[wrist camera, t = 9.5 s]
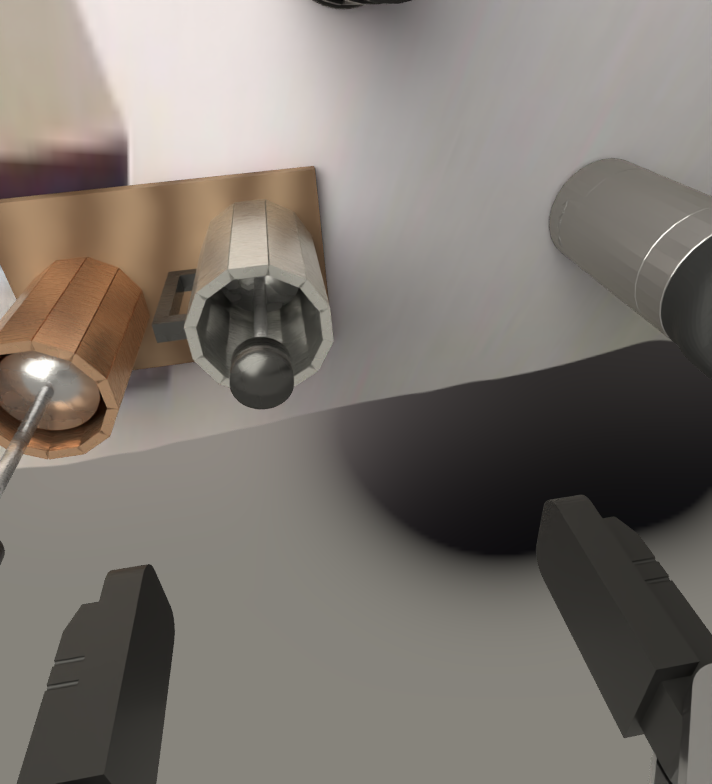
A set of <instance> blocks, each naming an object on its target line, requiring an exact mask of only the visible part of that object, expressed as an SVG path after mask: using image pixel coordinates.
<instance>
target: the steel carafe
mask: <svg viewBox="0 0 712 784" xmlns="http://www.w3.org/2000/svg"><path fill="white" fill-rule="evenodd" d="M260 276H270V277H273V278H276V279H278V280H281V281H283V282H286V283H289V284H291V285H294V286H296V287H299V289H298V291H297V293H296V295H295V296H294V297H293V299H292V300H291V301H290V302H289V303H287V304H286V305H285V306H283V307H281V308H279V309H277V310H274V311H271V312H267V321H268V337H269V338H273V339H275V340H277V341H279V342H281V343H282V344H283V345H284V346H285V347H286V348H287V349H288V351H289V352H290V355H291V358H292V366H293V376H294V387H295V386H297V385H298V384H300V383H301V382H303V381H304V380H306V379H307V378H309V377H310V376H312V375H313V374H315V373H316V372H318V370H319V369H320V367H321V365H322V363H323V361H324V359H325V357H326V355H327V354H328V352H329V350H330V348H331V346H332V344H333V341H334V340H333V331H332V321H331V311H330V306H329V302H328V298H327V294H326V290H325V286H324V282H323V278H322V274H321V270H320V266H319V262H318V258H317V254H316V250H315V247H314V243H313V239H312V235H311V234H310V232H309V231H308V230H307V228H306V227H305V226H304V224H303V223H302V222H301V220H300V219H299V218H298V216H297V215H296V214H295V212H293V211H292V210H289V209H287V208H285V207H282V206H280V205H278V204H275V203H273V202H271V201H269V200H265V199H261V200H252V201H243V202H235V204H234V203H233V204H232V205H230V206H229V207H228V208H226V209H225V210H224V211H223V212H221V213H220V214H219V215H217V216H216V217H215V218H214V219H212V220H211V221H210V224H209V227H208V230H207V233H206V235H205V238H204V241H203V244H202V247H201V251H200V256H199V260H198V265H197V269H188V270H180V271H172V272H168V275H167V278H166V281H165V284H164V287H163V290H162V294H161V297H160V300H159V303H158V306H157V309H156V312H155V315H154V318H153V321H152V328H153V331H154V334H155V338H156V341H157V343H161V342H169V341H177V340H184V339H187V340H188V343H189V347H190V351H191V354H192V358H193V360H194V362H196V363H197V364H198V365H199V366H200V367H201V368H202V369H203V370H204V371H205V372H206V373H207V374H208V375H209V376H210V377H212V378H213V379H214V380H215V381H216V382H217V383H218V384H220V385H222V386H225V387H229V388H230V366H231V357H232V354H233V352H234V350H235V349H236V347H237V346H238V345H239V344H241V343H242V342H244V341H245V340H247V339H250V338H254V312H250V311H247V310H244V309H242V308H240V307H238V306H236V305H235V304H233V303H232V302H231V301H230V300H229V299H228V298H227V297H226V296H225V295H224V293H223V291H222V290H221V288H222V287H224V286H225V285H226V284H228V283H229V282H231V281H232V280H235V279H243V278H252V277H260ZM186 291H192V292H191V297H190V301H189V306H188V311H187V314H180V315H179V311H180V307H181V303H182V299H183V295H184V292H186Z"/></svg>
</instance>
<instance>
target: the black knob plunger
mask: <svg viewBox="0 0 712 784" xmlns="http://www.w3.org/2000/svg"><path fill="white" fill-rule="evenodd" d="M100 399H101V392H100V390H99V387H98V385H97V383H96V382H95V381H94V380H93V379H91V378H90V377H89V376H88V375H86V374H85V373H84V372H83V371H81V370H80V369H79V368H78V367H76V366H75V365H74V364H73V363H71V362H70V361H68V360H64V359H61V358H57V357H54V356H50V355H47V354H43V353H40V352H36V351H25V352H18V353H10V354H7V355H6V356H5V357H4V358H3V359H2V360H1V362H0V405H1V406H2V407H3V408H4V409H5V410H6V411H7V412H8V413H9V414H10V415H12V416H13V417H14V418H16V419H18V420H19V421H21V424H20V426H19V428H18V429H17V431H16V433H15V435H14V437H13V438H12V440H11V442H10V444H9V445H8V447H7V449H6V451H5V453H4V454H3V456H2V458H1V460H0V498H1V496H2V494H3V492H4V490H5V488H6V486H7V484H8V482H9V480H10V478H11V477H12V475H13V473H14V471H15V469H16V467H17V465H18V463H19V461H20V459H21V457H22V455H23V453H24V451H25V449H26V448H27V446H28V444H29V442H30V440H31V438H32V436H33V434H34V432H35V430H36V428H41V429H47V430H65V429H70V428H74V427H77V426H79V425H81V424H83V423H85V422H86V421H88V420H89V419H90V418H91V417H92V416H93V415H94V413H95V412H96V410H97V407H98V405H99V402H100ZM4 554H5V550H4V547H3V544H2V542H1V541H0V564H1V562H2V560H3V558H4Z"/></svg>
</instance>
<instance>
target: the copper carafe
mask: <svg viewBox="0 0 712 784" xmlns="http://www.w3.org/2000/svg"><path fill="white" fill-rule="evenodd" d="M149 318H150V314H149V311H148V308H147V304H146V301H145V298H144V295H143V292H142V290H141V288H140V287H139V286H137V285H136V284H135V283H134V282H133V281H132V280H131V279H130V278H129V277H128V276H127V275H126V274H125V273H124V272H123V271H122V270H121V269H120V268H119V269H118V267H115V266H113V265H110V264H107V263H104V262H101V261H98V260H96V259H93V258H90V257H88V258H87V257H80V258H71V259H62V260H56V261H54V262H53V263H52V264H51V265H50V266H48V267H47V268H46V269H45V270H43V271H42V272H41V273H40V274H39V275H37V276H36V277H35V278H34V279H33V280H32V282H31V283H30V284H29V285H28V287H27V288H26V289H25V290H24V292H23V293H22V294H21V295H20V297H19V298H18V299H17V300H16V301H15V303H14V304H13V305H12V306H11V308H10V309H9V310H8V311H7V313H6V314H5V315H4V316H3V317H2V319H1V320H0V362H1V360H2V359H3V358H4V357H5V356H6V355H7V354H10V353H18V352H25V351H36V352H40V353H43V354H47V355H50V356H54V357H57V358H61V359H64V360H68V361H70V362H71V363H73V364H74V365H75V366H76V367H78V368H79V369H80V370H81V371H83V372H84V373H85V374H86V375H88V376H89V377H90V378H91V379H93V380H94V381H95V382H96V383H97V385H98V387H99V390H100V392H101V399H100V402H99V405H98V407H97V410H96V412H95V413H94V415H93V416H92V417H91V418H90V419H89V420H88V421H86V422H85V423H83V424H81V425H79V426H77V427H74V428H70V429H65V430H47V429H41V428H36V430H35V432H34V434H33V436H32V438H31V440H30V442H29V444H28V446H27V448H26V449H25V451H24V453H23V454H26V455H30V456H35V457H39V458H44V459H55V458H62V457H69V456H76V455H83V454H86V453H87V452H88V451H90V450H91V449H93V448H94V447H95V446H97V445H98V444H100V443H101V442H103V441H104V440H105V439H107V438H108V437H110V435H111V432H112V429H113V426H114V423H115V420H116V417H117V414H118V411H119V408H120V405H121V402H122V399H123V396H124V393H125V390H126V387H127V384H128V381H129V378H130V375H131V372H132V369H133V366H134V363H135V360H136V357H137V354H138V351H139V348H140V346H141V343H142V340H143V336H144V333H145V330H146V327H147V324H148V321H149ZM20 424H21V421H19V420H18V419H16V418H14V417H13V416H12V415H10V414H9V413H8V412H7V411H6V410H5V409H4V408H3V407H2V406H1V405H0V445H1V446H2V447H4V448H5V449H7V447H8V445H9V444H10V442H11V440H12V438H13V437H14V435H15V433H16V431H17V429H18V428H19V426H20Z"/></svg>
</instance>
